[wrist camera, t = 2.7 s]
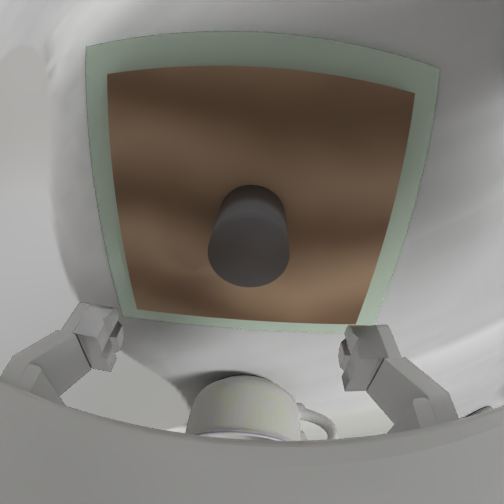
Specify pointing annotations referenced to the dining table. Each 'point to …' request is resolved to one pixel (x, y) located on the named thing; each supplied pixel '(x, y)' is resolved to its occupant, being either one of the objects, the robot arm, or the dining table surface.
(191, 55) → the mat
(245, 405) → the teacup
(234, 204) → the lid
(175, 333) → the dining table surface
